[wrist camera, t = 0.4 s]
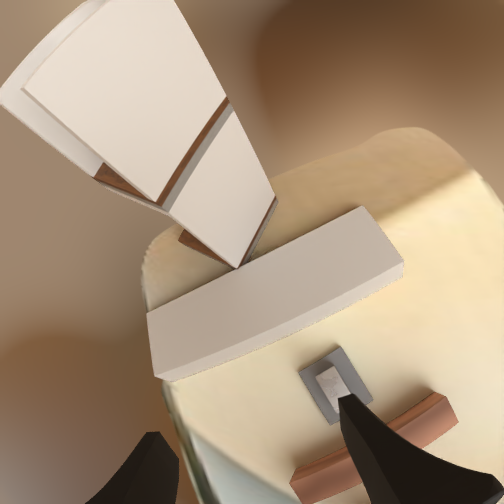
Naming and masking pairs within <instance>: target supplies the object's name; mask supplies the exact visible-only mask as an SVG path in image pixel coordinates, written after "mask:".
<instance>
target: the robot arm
mask: <svg viewBox="0 0 504 504" xmlns="http://www.w3.org/2000/svg"><path fill="white" fill-rule="evenodd" d="M338 406H339V415H340V425H341V431H342V434H343V437H344V440H345V443H346V446H347V449H348V452H349V454H350V456H351V458H352V460H353V462H354V465H355V467H356V469H357V471H358V473H359V475H360V477H361V479H362V482H363V484H364V486H365V488H366V490H367V493H368V495H369V498H370V501H371V504H496V503H497V502H498V501H499V500H500V499H501V498H502V496H503V495H504V487H503V486H502V484H501V483H500V482H499V481H498V480H497V479H496V478H495V477H494V476H493V475H492V474H487V473H482V472H478V471H474V470H470V469H467V468H463V467H460V466H457V465H455V464H452V463H450V462H447V461H445V460H442V459H440V458H438V457H435V456H433V455H431V454H429V453H428V452H426V451H424V450H422V449H420V448H419V447H417V446H415V445H413V444H412V443H410V442H409V441H407V440H406V439H404V438H403V437H402V436H400V435H399V434H397V433H396V432H395V431H393V430H392V429H391V428H390V427H388V426H387V425H386V424H385V423H384V422H383V421H381V420H380V419H379V418H378V417H377V416H376V415H375V414H374V413H373V412H372V411H370V410H369V409H368V408H367V407H366V406H365V404H364V403H363V402H362V401H361V400H360V399H359V398H358V397H357V396H356V394H353V393H352V394H349V395H346V396H343V397H340V398H338ZM178 481H179V458H178V457H177V456H176V454H175V453H174V452H173V450H172V449H171V448H170V446H169V445H168V443H167V442H166V440H165V439H164V438H163V436H162V435H161V433H160V432H146V434H145V435H144V436H143V438H142V439H141V440H140V442H139V443H138V444H137V446H136V447H135V449H134V450H133V452H132V453H131V454H130V455H129V457H128V458H127V460H126V461H125V462H124V463H123V465H122V466H121V468H120V469H119V470H118V471H117V472H116V473H115V474H114V476H113V477H112V478H111V479H110V480H109V482H108V483H107V484H106V485H105V486H104V487H103V488H102V489H101V490H100V491H99V492H98V493H97V494H96V495H95V496H94V497H93V498H91V499H90V500H89V501H88V502H86V503H85V504H175V502H176V495H177V488H178Z"/></svg>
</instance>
